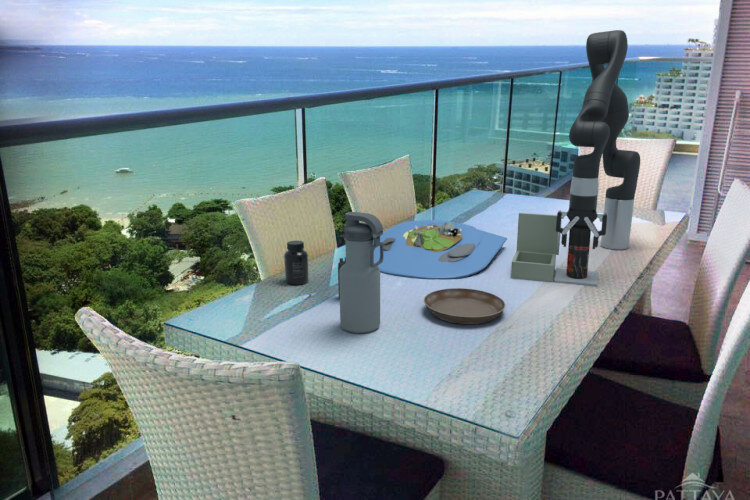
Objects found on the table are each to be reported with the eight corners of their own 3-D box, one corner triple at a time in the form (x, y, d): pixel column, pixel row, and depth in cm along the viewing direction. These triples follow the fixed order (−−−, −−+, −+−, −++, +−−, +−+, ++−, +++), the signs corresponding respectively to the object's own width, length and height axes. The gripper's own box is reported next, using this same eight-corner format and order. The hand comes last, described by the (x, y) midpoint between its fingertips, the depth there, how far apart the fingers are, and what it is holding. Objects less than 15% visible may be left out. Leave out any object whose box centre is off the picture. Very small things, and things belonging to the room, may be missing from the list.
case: (515, 265, 201) (519, 212, 196) (557, 268, 197) (562, 215, 192) (510, 277, 189) (514, 222, 184) (555, 282, 185) (559, 225, 180)
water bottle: (388, 322, 157) (388, 211, 149) (371, 337, 148) (370, 221, 141) (351, 316, 161) (349, 208, 153) (333, 330, 153) (330, 216, 145)
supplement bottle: (312, 279, 188) (311, 240, 185) (302, 286, 182) (301, 246, 179) (291, 276, 191) (290, 238, 187) (281, 284, 184) (279, 244, 181)
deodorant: (588, 279, 185) (592, 229, 181) (567, 278, 187) (570, 229, 182) (586, 272, 191) (589, 224, 186) (565, 271, 192) (568, 223, 188)
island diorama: (464, 304, 183) (464, 265, 178) (338, 279, 203) (335, 243, 198) (513, 246, 219) (515, 212, 214) (402, 229, 239) (400, 198, 234)
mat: (556, 269, 196) (556, 267, 196) (597, 273, 192) (597, 271, 192) (554, 282, 185) (554, 280, 185) (597, 286, 182) (597, 284, 181)
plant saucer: (486, 296, 175) (487, 284, 174) (518, 325, 156) (519, 312, 155) (414, 301, 171) (414, 290, 170) (437, 332, 152) (438, 319, 151)
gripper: (610, 191, 183) (604, 246, 187) (558, 188, 187) (554, 242, 192) (610, 196, 176) (605, 253, 181) (557, 193, 180) (552, 248, 185)
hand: (579, 247), depth 186 cm, fingers open, 7 cm apart
